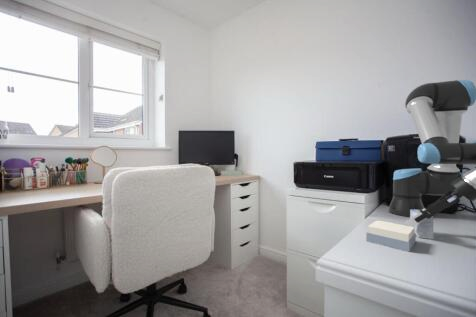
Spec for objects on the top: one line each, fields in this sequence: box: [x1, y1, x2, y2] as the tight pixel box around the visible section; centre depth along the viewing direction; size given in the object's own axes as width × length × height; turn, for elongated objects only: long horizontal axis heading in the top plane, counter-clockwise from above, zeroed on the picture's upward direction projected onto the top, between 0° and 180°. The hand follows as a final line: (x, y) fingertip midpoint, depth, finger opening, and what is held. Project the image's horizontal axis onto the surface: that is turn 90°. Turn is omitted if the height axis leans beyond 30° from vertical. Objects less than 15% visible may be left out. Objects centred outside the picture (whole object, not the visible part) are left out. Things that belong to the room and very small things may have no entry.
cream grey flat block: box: [365, 220, 417, 252], centre depth 74 cm, size 12×12×5 cm
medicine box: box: [409, 210, 434, 240], centre depth 81 cm, size 8×4×9 cm, turn 160°
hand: (410, 222), depth 83 cm, fingers closed on medicine box, 9 cm apart
